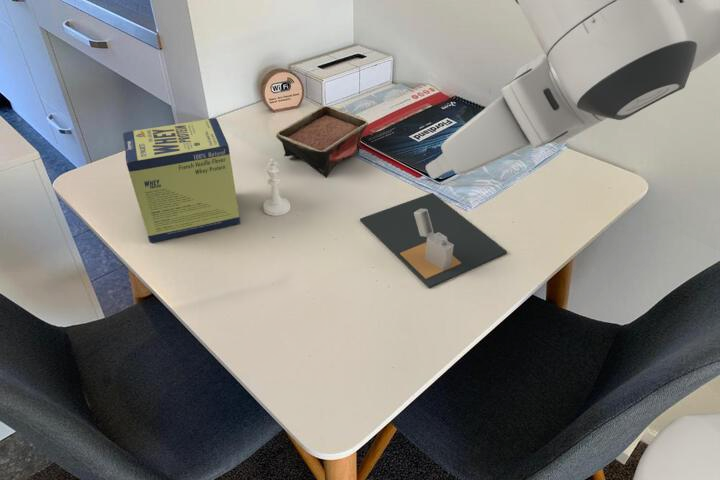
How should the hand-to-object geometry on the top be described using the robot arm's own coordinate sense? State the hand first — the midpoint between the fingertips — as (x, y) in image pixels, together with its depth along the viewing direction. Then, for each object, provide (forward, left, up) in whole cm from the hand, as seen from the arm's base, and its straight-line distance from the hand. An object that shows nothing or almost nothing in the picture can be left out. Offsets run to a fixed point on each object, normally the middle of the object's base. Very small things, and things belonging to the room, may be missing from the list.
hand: (447, 161), depth 62 cm
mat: (+12, -10, -24) cm, 29 cm away
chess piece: (+33, +9, -24) cm, 42 cm away
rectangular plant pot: (+45, -7, -24) cm, 52 cm away
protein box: (+38, +23, -24) cm, 51 cm away
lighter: (+7, -6, -23) cm, 25 cm away
